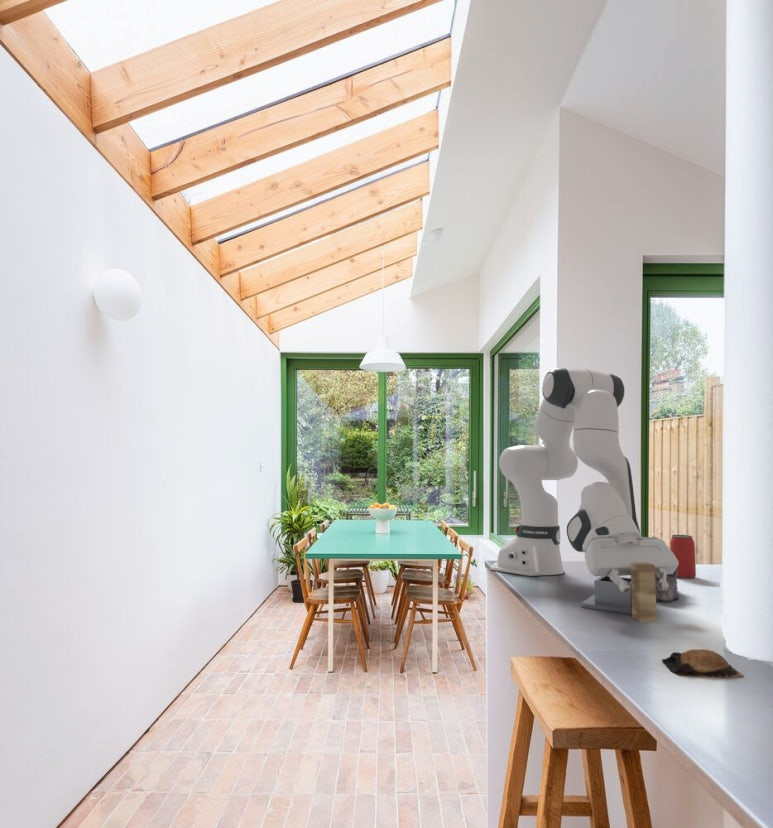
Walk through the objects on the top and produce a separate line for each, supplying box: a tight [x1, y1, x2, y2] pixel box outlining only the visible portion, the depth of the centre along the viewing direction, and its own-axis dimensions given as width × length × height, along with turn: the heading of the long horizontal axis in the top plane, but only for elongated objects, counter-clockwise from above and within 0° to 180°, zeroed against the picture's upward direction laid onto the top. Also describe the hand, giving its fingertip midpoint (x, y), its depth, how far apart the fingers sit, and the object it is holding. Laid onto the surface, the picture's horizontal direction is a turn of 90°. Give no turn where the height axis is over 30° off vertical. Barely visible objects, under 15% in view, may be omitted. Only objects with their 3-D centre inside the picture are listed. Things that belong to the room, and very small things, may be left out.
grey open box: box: [581, 576, 632, 615], centre depth 143 cm, size 13×13×6 cm
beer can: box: [669, 534, 697, 580], centre depth 178 cm, size 7×7×12 cm
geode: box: [655, 569, 679, 604], centre depth 156 cm, size 20×12×10 cm, turn 167°
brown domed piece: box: [661, 648, 745, 679], centre depth 100 cm, size 11×9×4 cm
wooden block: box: [630, 562, 657, 623], centre depth 131 cm, size 4×4×12 cm
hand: (645, 589), depth 130 cm, fingers open, 8 cm apart
